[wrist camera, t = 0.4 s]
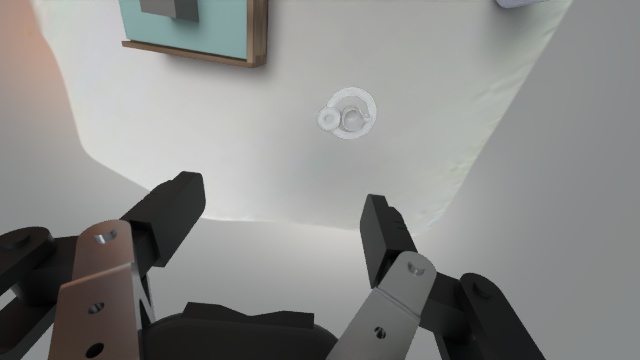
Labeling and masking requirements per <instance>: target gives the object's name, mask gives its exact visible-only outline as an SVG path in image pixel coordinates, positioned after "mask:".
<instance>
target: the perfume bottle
mask: <svg viewBox="0 0 640 360" xmlns="http://www.w3.org/2000/svg"><path fill="white" fill-rule="evenodd" d="M544 1H549V0H497V2H498V4H499V5H500V6H502V7H504V8H513V7H518V6H524V5H529V4H534V3H539V2H544Z"/></svg>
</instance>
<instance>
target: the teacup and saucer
mask: <svg viewBox="0 0 640 360" xmlns="http://www.w3.org/2000/svg"><path fill="white" fill-rule="evenodd" d="M346 96H357V97H360V98H361V99H363V100H364V101H365V103H366V104H367V106H368V110H369V115H367V114H363V113H362V112H361V111H360V110H359V109H358V108H356V107H354V106H349V107H347V108H346V109H345V110H344V111H343V114H342V124H343V126H344V128H345V129H347V130H349V131H355V132H344V131H341V130H340V129H338V128H337V127H338V126H339V124H340V121H341V115H340V113H339V111H338V110H337V109H336V108H334V106H335V104H336V103H337V102H338V101H339V100H340V99H341V98H343V97H346ZM351 110H355V111H356V116H355V118H353V119H348V118H347V117H346V115H345V114H346V113H347V112H348V111H351ZM376 114H377V109H376V104H375V102H374V100H373V98H372V97H371V95H370V94H369V93H367V92H366V91H365V90H363V89H360V88H356V87H349V88H344V89H342V90H339V91H338V92H336V93H335V94H334V95H333V96H332V97H331V98H330V99H329V101H328V103H327V105H326V107H325V108H323V109H322V110H321V111H320V112H319V114H318V116H317V123H318V125H319V127H320V128H321V129H323V130H325V131H331V132H332V133H333V134H334V135H336V136H337V137H339V138H342V139H356V138H359V137H361V136H363V135H364V134H366V133H367V132H368V131H369V130H370V129H371V128H372V126H373V124H374V122H375V119H376ZM332 117H333V119H332ZM364 122H366V124H365V125H364V126H363V124H364ZM362 126H363V127H362ZM361 127H362V128H361ZM360 128H361V129H360Z"/></svg>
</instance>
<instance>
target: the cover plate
mask: <svg viewBox="0 0 640 360" xmlns="http://www.w3.org/2000/svg"><path fill="white" fill-rule="evenodd" d="M119 5H120V9H121V14H122V19H123V23H124V28H125V32H126V37H127V39H131V40H137V41H143V42H149V43H154V44H160V45H166V46H172V47H178V48H184V49H190V50H196V51H202V52H208V53H213V54H219V55H225V56H231V57H237V58H243V59H247V0H119Z"/></svg>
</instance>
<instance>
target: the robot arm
mask: <svg viewBox="0 0 640 360" xmlns="http://www.w3.org/2000/svg"><path fill="white" fill-rule="evenodd" d="M205 204H206V199H205V191H204V184H203V177H202V175H201V174H200V173H195V172H187V171H182V172H181V173H180V174H178V175H177V176H176V177H175V178H174V179H173V180H168V181H166V182H164V183H162V184H160V185H158V186H157V187H156V188H154V189H153V190H152V191H151V192H150V194H148V195H147V196H145V197H144V199H143V200H141V201H140V202H138V203H137V204H136V205H135V206H134V207H133V208H132V209H130V210H129V211H128V212H127V213H126V214H125V215H124V216H122V217H121V218H120V219H119V220H108V221H104V222H100V223H98V224H95V225H93V226H91V227H89V228H87V229H86V230H85V231H83V232H82V233H81V234H80V235H79V236H70V237H60V238H53V237H52V235H51V233H50V232H49V230H48V229H46V228H44V227H26V228H21V229H17V230H14V231H11V232H8V233H5V234H3V235H1V236H0V296H1V295H2V294H3V293H5V292H6V291H7V290H8V289H9V288H10V289H11V290H12V291H13V292H14V293H15V295H16V297H15V298H14V299H13V300H12V301H11V302H10V303H9V304H7V305H6V306H5V307H4V308H3V309H2V310H1V311H0V360H20V359H21V358H22V357H23V356H24V355H25V354H26V353H27V352H28V351H29V349H30V348H31V347H32V346H33V345H34V344H35V343H36V342H37V341H38V339H39V338H40V337H41V336H42V335H43V334H44V333H45V332H46V330H47V329H48V328H49V327H50V326H51V324H53V323H54V325H53V331H52V337H51V343H50V349H49V355H48V360H405V357H406V355H407V352H408V350H409V348H410V345H411V342H412V340H413V338H414V335H415V333H416V330H417V328H418V326H420V327H422V328H425V329H427V330H429V331H431V332H433V333H434V336H435V340H436V343H437V346H438V349H439V352H440V355H441V358H442V360H546V359H545V358H544V356H543V355H542V353H541V352H540V350H539V349H538V347H537V345H536V344H535V342H534V341H533V339H532V338H531V336H530V335H529V333H528V332H527V330H526V328H525V327H524V325H523V324H522V322H521V321H520V319H519V318H518V316H517V315H516V313H515V311H514V310H513V308H512V307H511V305H510V304H509V302H508V301H507V299H506V298H505V296H504V295H503V293H502V292H501V290H500V289H499V288H498V287H497V286H496V285H495V284H494V283H493V282H491V281H490V280H488V279H487V278H485V277H483V276H481V275H478V274H475V273H465V274H463V276H462V277H461V278H460V280H458V279H455V278H452V277H450V276H446V275H444V274H441V273H439V272H437V271H436V269H435V267H434V266H433V264H432V263H431V262H430V261H429V260H428V259H427V258H426V257H424V256H423V255H421V254H419V253H418V251H417V249H416V247H415V245H414V242H413V240H412V238H411V236H410V233H409V231H408V230H407V227H406V224H404V220H403V218H402V215H401V214H400V213H399V212H398V211H397V210H396V209H395V208H394V207H389V206H388V203H387V201H386V198H385V196H382V195H373V194H368V196H367V199H366V202H365V206H364V209H363V213H362V216H361V220H360V233H361V238H362V243H363V249H364V254H365V259H366V264H367V270H368V274H369V280H370V285H371V289H373V290H372V292H371V293H370V295H369V296H368V298H367V299H366V300H365V302H364V303H363V305H362V306H361V308H360V309H359V311H358V312H357V314H356V315H355V317H354V318H353V319H352V321H351V322H350V324H349V325H348V327H347V329H346V330H345V331H344V333H343V334H342V336H341V337H340V339H337V338H336V337H335V336H334V335H333V334H332V333H330V332H329V331H328V330H326V329H324V328H323V327H321V326H319V325H316V324H314V313H304V312H293V311H279V312H273V313H267V314H261V315H255V316H247V315H245V314H242V313H240V312H237V311H235V310H232V309H229V308H227V307H224V306H222V305H216V304H205V303H194V302H188V303H187V305H186V307H185V309H184V311H183V313H178V314H174V315H171V316H168V317H165V318H162V319H160V320H158V321H156V319H155V314H154V308H153V301H152V295H151V289H150V283H149V277H148V273H147V272H148V271H149V269H150V268H151V267H152V266H154V267H165V266H166V264H167V263H168V261H169V260H170V259H171V257H172V256H173V254H174V253H175V251H176V250H177V248H178V247H179V246H180V244H181V243H182V241H183V240H184V239H185V237H186V236H187V234H188V233H189V232H190V230H191V228H192V227H193V226H194V224H195V223H196V222H197V220H198V219H199V217H200V216H201V215H202V213H203V211H204V209H205Z"/></svg>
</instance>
